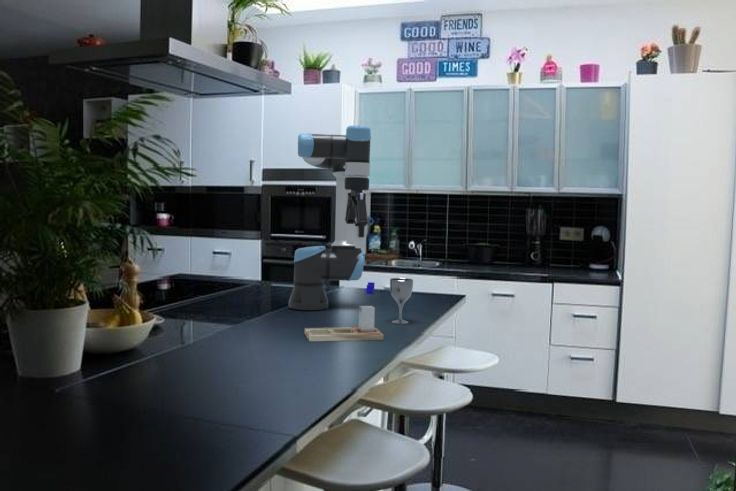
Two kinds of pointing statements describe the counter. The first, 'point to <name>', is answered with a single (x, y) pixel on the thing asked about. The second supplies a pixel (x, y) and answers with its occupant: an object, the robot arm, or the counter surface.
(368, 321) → the steel peg
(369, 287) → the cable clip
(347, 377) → the counter surface
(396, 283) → the wine glass
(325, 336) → the hole rail
